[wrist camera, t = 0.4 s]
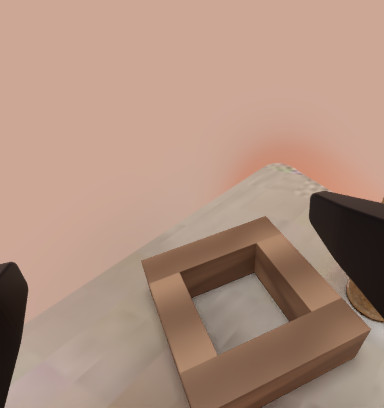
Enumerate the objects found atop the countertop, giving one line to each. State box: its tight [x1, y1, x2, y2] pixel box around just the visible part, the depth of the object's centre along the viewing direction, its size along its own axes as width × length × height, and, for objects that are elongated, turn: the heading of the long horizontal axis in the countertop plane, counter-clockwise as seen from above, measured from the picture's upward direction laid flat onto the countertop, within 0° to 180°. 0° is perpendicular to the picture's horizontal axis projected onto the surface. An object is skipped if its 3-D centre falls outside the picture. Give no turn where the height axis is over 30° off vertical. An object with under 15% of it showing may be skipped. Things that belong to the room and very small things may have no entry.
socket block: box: [141, 216, 371, 408], centre depth 23 cm, size 12×12×4 cm
